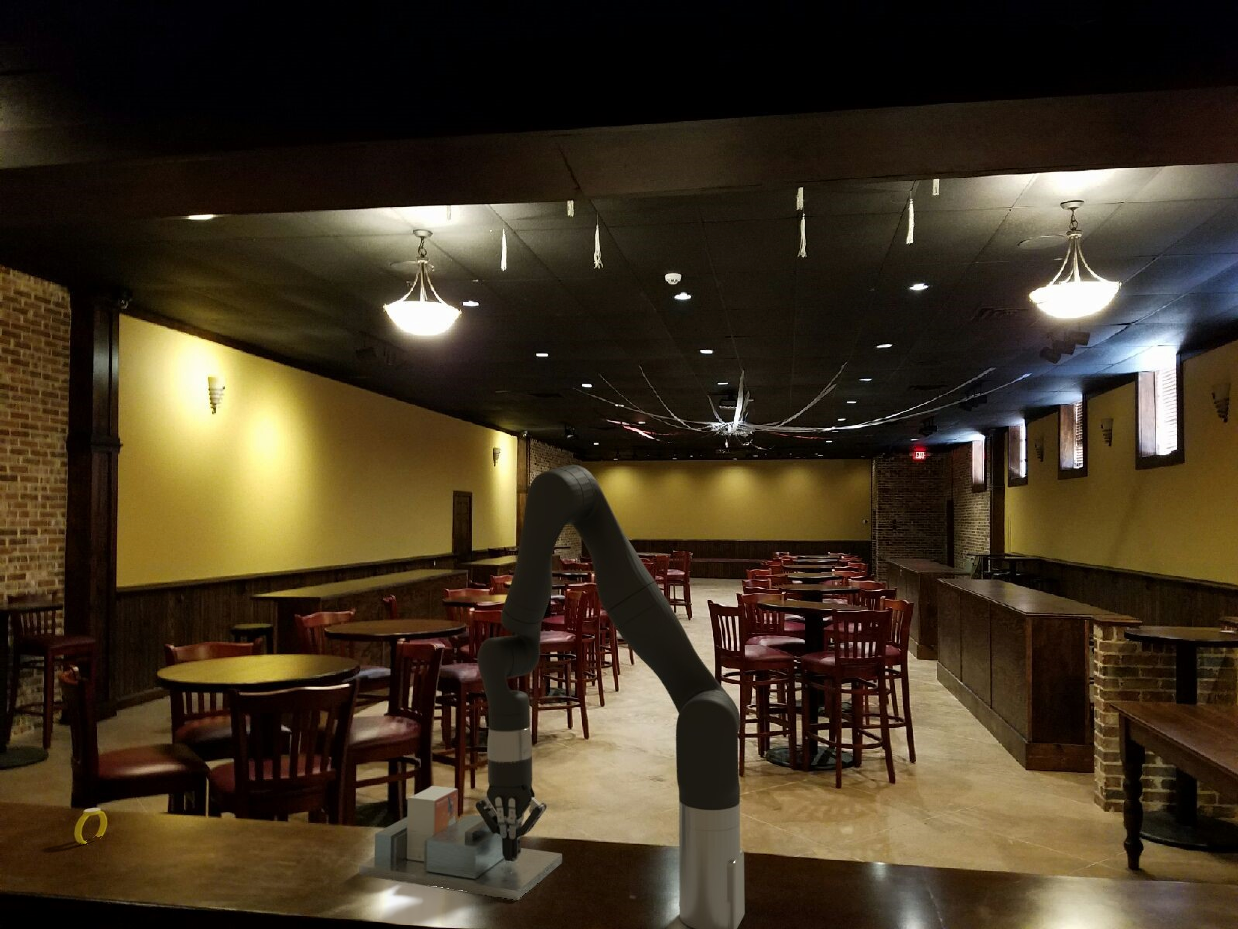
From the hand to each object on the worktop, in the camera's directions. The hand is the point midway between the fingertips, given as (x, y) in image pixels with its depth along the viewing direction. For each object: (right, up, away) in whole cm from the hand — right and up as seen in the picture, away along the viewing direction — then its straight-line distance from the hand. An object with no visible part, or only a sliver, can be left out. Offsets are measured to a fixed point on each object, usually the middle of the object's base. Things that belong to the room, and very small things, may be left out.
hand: (511, 859), depth 148 cm
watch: (-81, -4, +16) cm, 83 cm away
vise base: (-8, -3, +3) cm, 9 cm away
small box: (-15, -2, +6) cm, 16 cm away
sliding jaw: (-7, -1, +3) cm, 8 cm away
